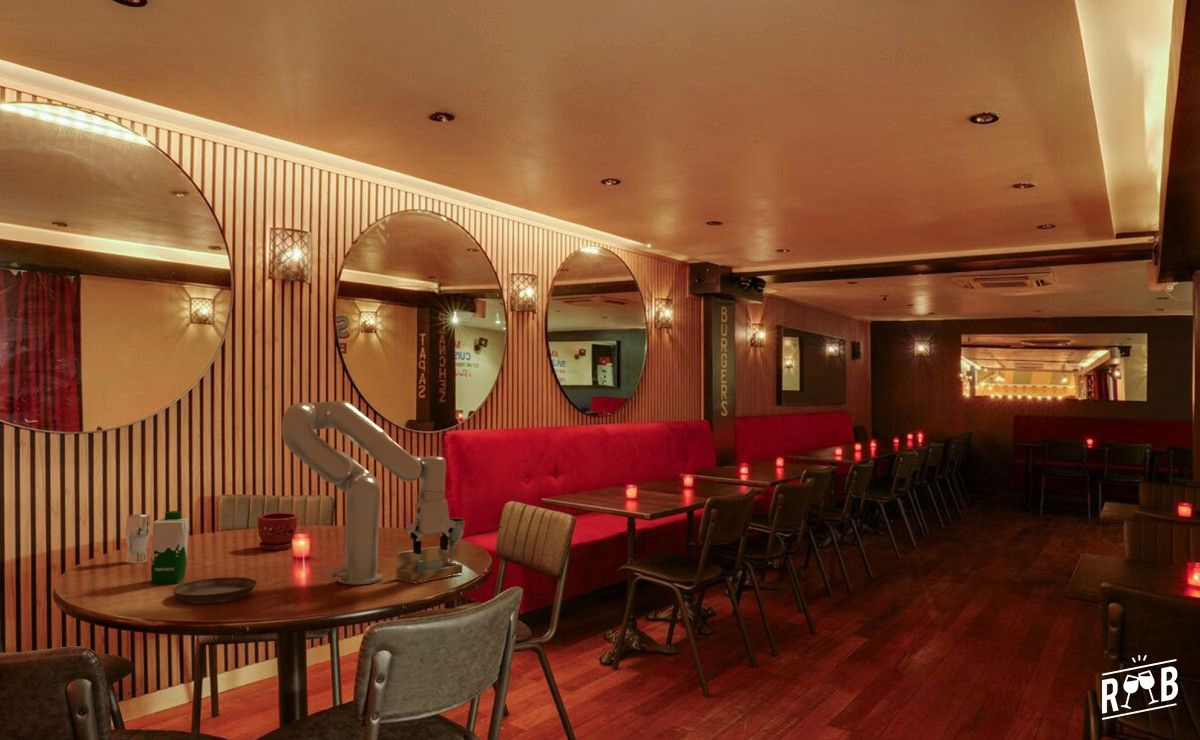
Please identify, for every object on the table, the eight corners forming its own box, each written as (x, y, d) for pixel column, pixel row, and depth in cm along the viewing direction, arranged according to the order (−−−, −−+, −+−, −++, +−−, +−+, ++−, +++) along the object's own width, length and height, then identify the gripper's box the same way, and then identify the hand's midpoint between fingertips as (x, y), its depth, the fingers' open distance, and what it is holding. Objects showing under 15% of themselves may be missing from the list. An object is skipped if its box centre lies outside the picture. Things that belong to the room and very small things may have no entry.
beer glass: (153, 560, 249) (155, 514, 249) (138, 564, 242) (141, 517, 242) (134, 559, 249) (136, 513, 250) (118, 563, 242) (121, 517, 243)
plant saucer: (162, 595, 206) (162, 583, 206) (240, 584, 220) (241, 572, 220) (185, 611, 191) (185, 598, 191) (267, 598, 205) (268, 585, 206)
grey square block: (426, 580, 228) (427, 550, 229) (416, 577, 232) (417, 548, 232) (442, 577, 233) (443, 547, 233) (433, 574, 236) (434, 545, 237)
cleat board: (412, 584, 223) (413, 557, 223) (396, 578, 229) (396, 552, 229) (462, 574, 236) (462, 549, 236) (445, 570, 242) (446, 545, 243)
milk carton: (188, 577, 226) (191, 510, 227) (180, 584, 217) (183, 515, 218) (156, 578, 224) (159, 511, 225) (146, 585, 215) (149, 515, 216)
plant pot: (248, 550, 267) (250, 516, 268) (274, 543, 280) (275, 511, 280) (279, 553, 264) (280, 518, 264) (303, 546, 276) (305, 513, 277)
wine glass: (450, 568, 245) (451, 522, 245) (434, 564, 249) (435, 519, 250) (468, 564, 251) (469, 519, 252) (452, 561, 256) (453, 517, 256)
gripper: (415, 499, 225) (413, 557, 224) (462, 495, 237) (460, 549, 236) (401, 497, 230) (399, 553, 229) (448, 493, 242) (446, 546, 242)
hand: (430, 551), depth 233 cm, fingers open, 9 cm apart
